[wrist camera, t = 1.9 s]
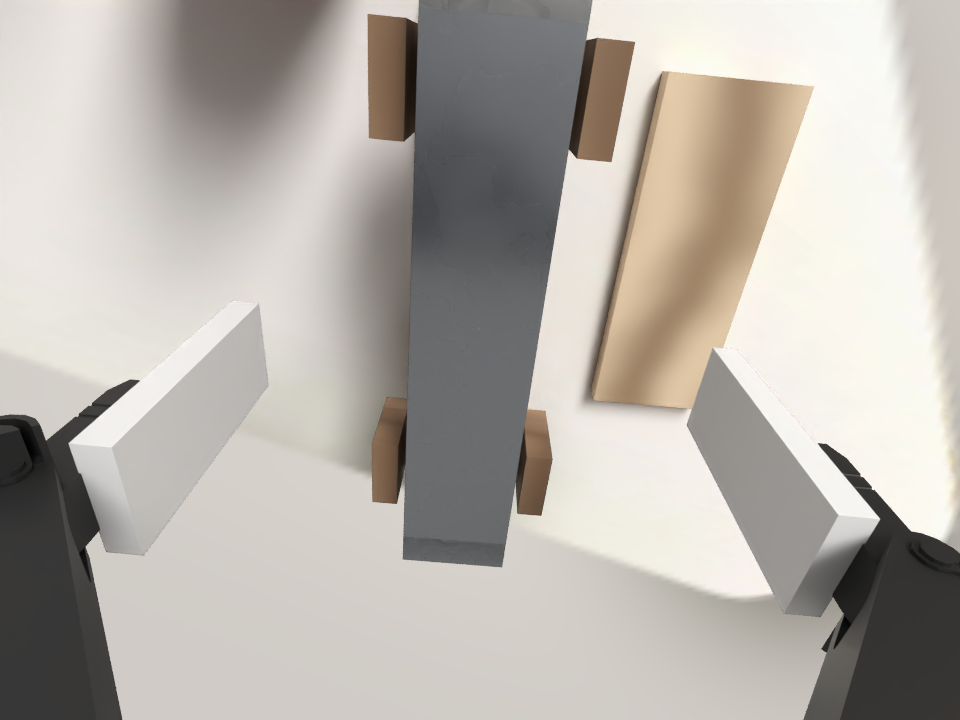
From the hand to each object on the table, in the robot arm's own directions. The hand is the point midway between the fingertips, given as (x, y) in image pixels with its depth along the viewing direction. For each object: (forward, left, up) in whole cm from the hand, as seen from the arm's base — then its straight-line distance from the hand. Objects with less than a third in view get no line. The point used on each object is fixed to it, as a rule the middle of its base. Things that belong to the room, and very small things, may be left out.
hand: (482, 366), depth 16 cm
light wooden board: (+10, 0, -12) cm, 16 cm away
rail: (0, 0, -5) cm, 5 cm away
